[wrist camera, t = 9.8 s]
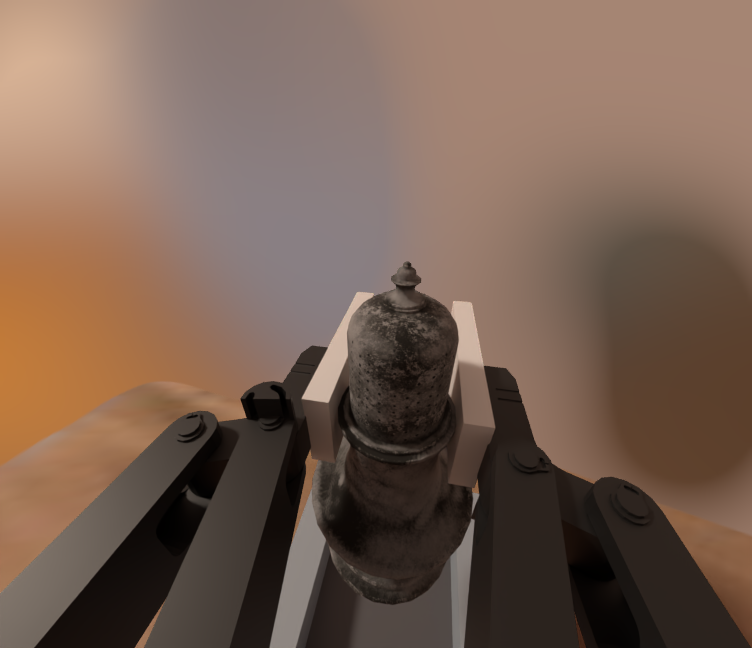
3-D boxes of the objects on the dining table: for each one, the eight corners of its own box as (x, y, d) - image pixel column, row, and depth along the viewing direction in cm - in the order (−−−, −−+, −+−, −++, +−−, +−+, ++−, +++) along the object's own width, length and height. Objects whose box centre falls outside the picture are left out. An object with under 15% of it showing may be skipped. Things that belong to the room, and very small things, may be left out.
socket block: (475, 515, 22) (483, 494, 21) (503, 819, 12) (523, 824, 11) (323, 486, 24) (320, 465, 23) (242, 732, 14) (225, 726, 13)
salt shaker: (458, 476, 15) (527, 235, 8) (456, 641, 10) (617, 373, 3) (346, 450, 16) (330, 221, 9) (295, 587, 11) (191, 308, 5)
